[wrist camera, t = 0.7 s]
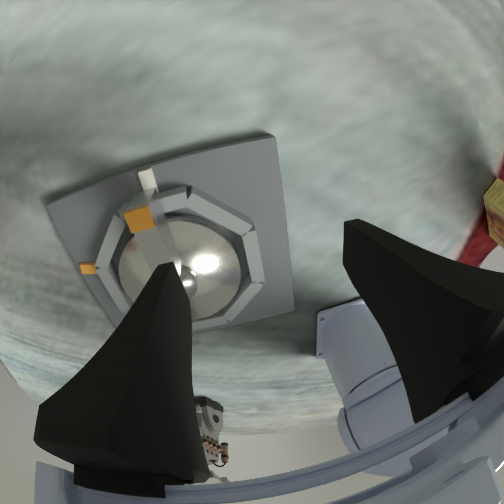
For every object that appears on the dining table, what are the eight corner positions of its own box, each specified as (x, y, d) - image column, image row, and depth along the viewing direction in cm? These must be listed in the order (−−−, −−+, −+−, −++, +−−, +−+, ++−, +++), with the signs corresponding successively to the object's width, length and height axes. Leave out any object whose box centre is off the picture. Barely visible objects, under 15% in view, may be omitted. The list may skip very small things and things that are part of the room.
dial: (247, 296, 23) (256, 334, 20) (149, 317, 23) (145, 355, 19) (216, 164, 17) (220, 187, 13) (91, 202, 16) (67, 232, 13)
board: (292, 303, 26) (298, 320, 24) (130, 337, 26) (127, 354, 24) (271, 134, 17) (280, 140, 15) (51, 200, 16) (38, 213, 14)
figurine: (179, 380, 31) (186, 490, 19) (228, 406, 38) (243, 493, 26) (134, 396, 33) (132, 490, 21) (184, 419, 39) (192, 498, 27)
